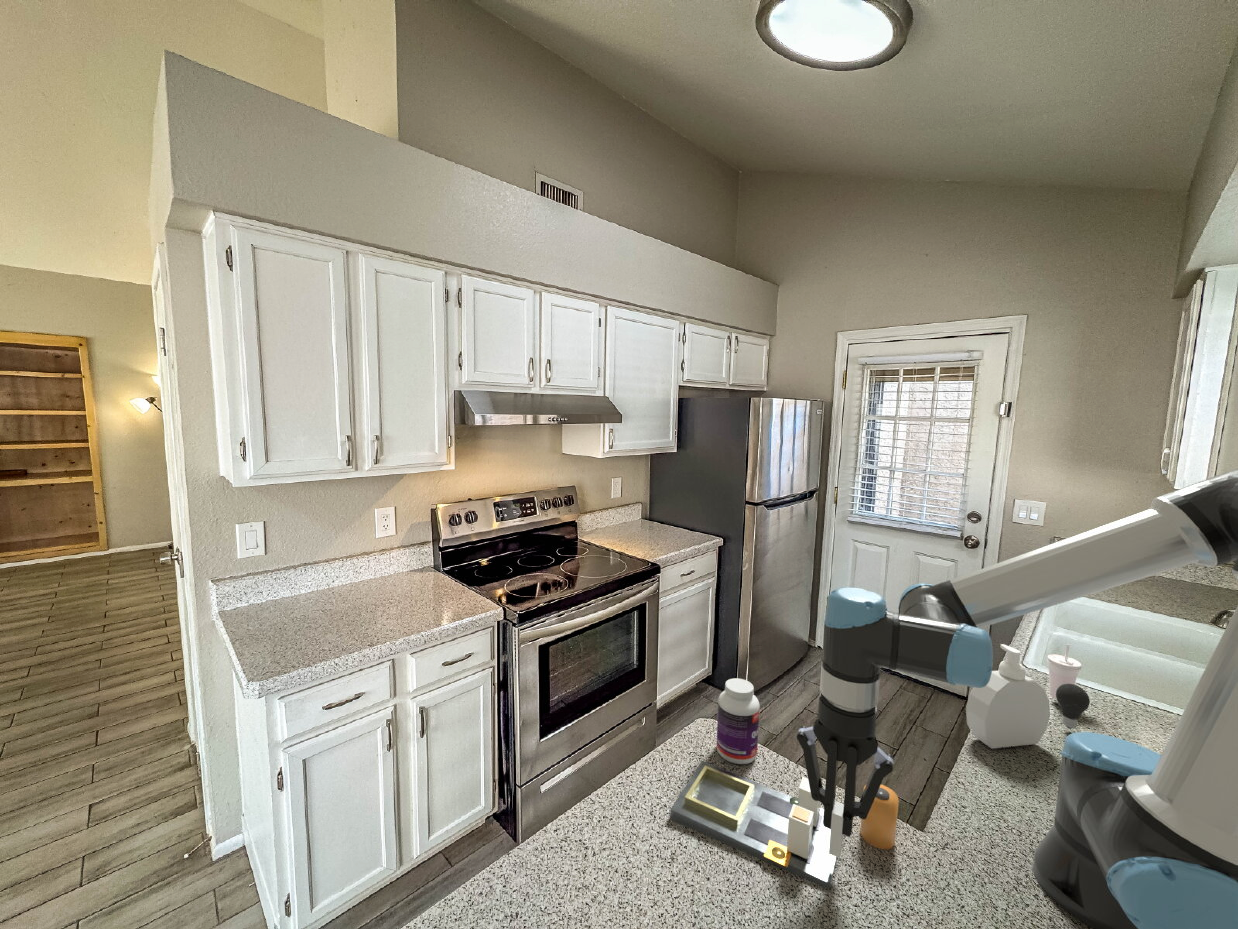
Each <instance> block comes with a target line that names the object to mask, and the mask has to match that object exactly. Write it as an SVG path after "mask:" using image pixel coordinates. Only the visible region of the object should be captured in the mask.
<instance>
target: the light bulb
mask: <svg viewBox="0 0 1238 929" xmlns="http://www.w3.org/2000/svg"><path fill="white" fill-rule="evenodd" d="M1088 694H1089V693H1087V691H1085V690H1084V689H1083V687H1080V686H1079V685H1077V684H1075V685H1074V684H1063V685H1061V686H1060V687H1058V689H1057V691H1056V698H1057V700H1056V701H1057V702H1058V704H1059V706H1060V709H1061V714H1062V718H1061V722H1062V725H1064V726H1065V727H1066V729H1068V730H1072V729H1076V728H1077V726H1078V720H1079V719H1080V717H1081V715H1082V714H1083V713H1084V712H1085V711H1087V709H1088V708H1089V706H1090V705H1091V704H1090V703H1091V702H1090V701H1091V700H1090V697H1089V695H1088Z"/></svg>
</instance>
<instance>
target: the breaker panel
mask: <svg viewBox="0 0 1238 929" xmlns="http://www.w3.org/2000/svg"><path fill="white" fill-rule="evenodd" d="M793 804H795V805H797V806H798V796H797V797H796V796H792V795H788V794H786V793H784V792H781V791H778V790H776V789H774V788H771V787H769V786H766V785H764V784H761V783H759V782H756V781H753V780H751V779H749V778H746V777H744V776H741V775H738V774H736V773H734V772H731V771H729V770H727V769H724V768H721V767H719V766H717V765H713V764H711V763H708V762H706V761H704V760H702V761H700V763H699V765H698V767H697V768H696V770H695V771H694V773H693V774H692V776H691V777H690V779H689V780H688V782H687V783H686V784H685V786H684V788H683V790H682V791H681V792H680V794H679V796H678V797H677V799H676V800H675V801H674V803H673V805H672V806H671V808H670V811H669V812H670V813H669V815H670V816H669V820H671V821H674V822H676V823H678V824H679V825H682V826H685V827H686V828H689V829H691V830H693V831H695V832H699V833H700V834H702V835H705V836H706V837H709V838H712V839H714V840H717V841H719V842H721V843H723V844H725V845H728V846H730V847H732V848H735V849H737V850H738V851H741V852H743V853H745V854H748V855H751V856H753V857H755V858H758V859H759V860H762V861H764V862H766V863H769V864H771V865H773V866H776V867H777V868H780V869H781V870H784V871H787V872H790V873H791V874H793V875H796V876H798V877H799V878H803V879H805V880H807V881H810V882H811V883H814V884H817V885H819V886H821V887H823V888H825V889H828V890H831V886H832V881H833V876H834V872H835V868H836V862H837V857H835V856H833V855H830V854H829V844H830V831H831V829H829V828H826V827H824V825H823V815H824V808H821V807H820V815H819V819H818V822H817V826H816V827H815V826H813V828H812V843H811V848H810V852H809V856H808V859H805V858H803V857H801V856H799V855H796V854H794V853H792V852H790V851H788V850H787V839H788V823H789V815H790V812H791V809H792V806H793Z"/></svg>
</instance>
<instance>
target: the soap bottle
mask: <svg viewBox="0 0 1238 929" xmlns="http://www.w3.org/2000/svg"><path fill="white" fill-rule="evenodd" d="M999 645H1000V647H999V648H1001V649H1002V650H1003V651H1005V652H1006V653H1007V655H1006V659H1005V660H1002V661H1000V663H999V665H998V670H992V674H991V678H990V681H989V683H988V684H987V685H986V686H985V687H982V688H975V687H972V690H971V691H970V692H969V696H968V698H967V699H968V700H967V703H966V707H965V713H966V714H965V715H966V724H967V726H968V728H969V730H970V732H971V729H972V732H971V734H972V736H974V738H977V739H978V740H979V741H981V742H982V743H983V744H985V746H988V748H990V749H991V750H992V749H1001V748H1002V747H1003V748H1011V746H1012V747H1019V746H1029V745H1037V744H1039V742H1040V740H1041V739H1042V738H1043V736H1044V734H1045V733H1046V732H1047V728H1048V724H1049V721H1050V717H1051V708H1050V699H1049V697H1048V695H1047V693H1046V692H1047V691H1046V690H1045V688H1044V686H1042V685H1041V684H1040V683H1039V682H1037V681H1036V680H1034V679H1033V678H1031V677H1030V676H1027V675H1026V674H1027V672H1026V669H1025V666H1024V665H1022V664H1021V663H1020V659H1021V650H1020V649H1016V648H1014V647H1012V646H1010V645H1007V644H1005V643H1003V644H1002V643H1000V644H999ZM972 727H973V728H972Z"/></svg>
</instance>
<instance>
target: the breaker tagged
mask: <svg viewBox="0 0 1238 929" xmlns="http://www.w3.org/2000/svg"><path fill="white" fill-rule="evenodd" d="M813 814H814V812H812V811H810V810H807V809H805V808H802V807H800V806H797V805H795V804H793V806H792V809H791V812H790V815H789V823H788V839H787V850H788V851H790V852H792V853H794V854H796V855H799V856H801V857H803V858H805V859H808V856H809V852H810V848H811V843H812V828H813Z"/></svg>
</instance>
